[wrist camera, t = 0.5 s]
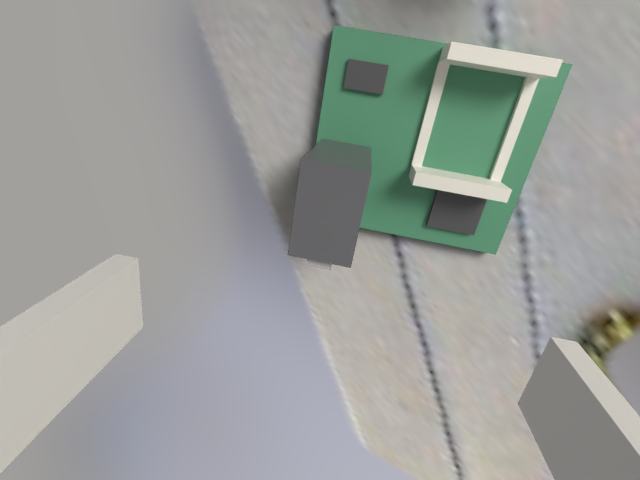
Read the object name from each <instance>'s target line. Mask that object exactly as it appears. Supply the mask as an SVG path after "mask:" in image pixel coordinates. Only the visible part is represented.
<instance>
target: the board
mask: <svg viewBox="0 0 640 480" xmlns="http://www.w3.org/2000/svg"><path fill="white" fill-rule="evenodd" d="M562 62H563V60H561V59H555V58H549V57H543V56H537V55H531V54H525V53H518V52H512V51H506V50H500V49H494V48H488V47H482V46H476V45H470V44H464V43H457V42H450V43H449V44H446V43H440V42H433V41H427V40H421V39H415V38H409V37H403V36H397V35H391V34H385V33H379V32H373V31H367V30H361V29H354V28H348V27H342V26H336V25H334V28H333V34H332V41H331V48H330V54H329V61H328V67H327V74H326V81H325V87H324V94H323V100H322V107H321V114H320V120H319V127H318V134H317V140H316V145H317V144H318V143H319V142H320V141H321V140H322V139H323V138H324V139H329V140H334V141H340V142H345V143H351V144H356V145H362V146H367V147H371V163H372V174H371V178H370V183H369V187H368V192H367V196H366V201H365V205H364V210H363V214H362V219H361V224H360V228H364V229H369V230H374V231H380V232H385V233H390V234H395V235H400V236H405V237H410V238H415V239H420V240H425V241H430V242H435V243H440V244H445V245H450V246H456V247H461V248H466V249H471V250H476V251H481V252H486V253H491V254H496V252H497V250H498V247H499V245H500V242H501V240H502V237H503V235H504V232H505V230H506V228H507V225H508V223H509V220H510V218H511V215H512V213H513V210H514V208H515V205H516V203H517V200H518V198H519V195H520V193H521V190H522V188H523V185H524V183H525V180H526V178H527V175H528V173H529V171H530V168H531V166H532V163H533V161H534V158H535V156H536V153H537V151H538V148H539V146H540V143H541V141H542V138H543V136H544V133H545V131H546V128H547V126H548V123H549V121H550V118H551V116H552V114H553V111H554V109H555V106H556V104H557V101H558V99H559V96H560V94H561V91H562V89H563V86H564V84H565V81H566V79H567V76H568V74H569V71H570V69H571V66H572V64H567V63H562Z"/></svg>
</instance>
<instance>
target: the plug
mask: <svg viewBox="0 0 640 480" xmlns="http://www.w3.org/2000/svg"><path fill="white" fill-rule="evenodd" d="M371 174H372V163H371V147H367V146H362V145H356V144H351V143H345V142H340V141H334V140H329V139H324V138H323V139H322V140H321V141H320V142H319V143H318V144H317V145H316V146H314V147H313V148H312V149H311V150H310V151H309V152H308V153H307V154H306V155H305V156H304V157H303V158H302V159H301V162H300V169H299V177H298V184H297V191H296V199H295V206H294V213H293V221H292V228H291V235H290V243H289V250H288V255H290V256H295V257H300V258H305V259H307V264H306V265H309V266H314V267H318V268H323V269H328V270H331V266H332V264H334V265H339V266H344V267H349V268H351V264H352V260H353V255H354V251H355V246H356V242H357V237H358V233H359V228H360V224H361V219H362V214H363V210H364V205H365V201H366V196H367V192H368V187H369V183H370V178H371Z"/></svg>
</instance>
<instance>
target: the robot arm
mask: <svg viewBox="0 0 640 480" xmlns="http://www.w3.org/2000/svg"><path fill="white" fill-rule="evenodd" d="M142 328H143V319H142V305H141V292H140V279H139V266H138V258H134V257H129V256H123V255H118V254H115V255H114V256H112V257H111V258H109V259H107V260H106V261H104V262H102V263H101V264H99V265H98V266H96V267H94V268H93V269H91V270H90V271H88V272H86V273H85V274H83V275H82V276H80V277H79V278H77V279H75V280H74V281H72V282H70V283H69V284H67V285H66V286H64V287H63V288H61V289H59V290H58V291H56V292H55V293H53V294H51V295H50V296H48V297H47V298H45V299H44V300H42V301H40V302H39V303H37V304H36V305H34V306H32V307H31V308H29V309H28V310H26V311H24V312H23V313H21V314H19V315H18V316H16V317H15V318H13V319H12V320H10V321H8V322H7V323H5V324H4V325H2V326H0V473H1V472H2V471H3V470H4V469H5V468H6V467H7V466H8V465H9V464H10V463H11V462H12V461H13V459H15V458H16V457H17V456H18V455H19V454H20V453H21V451H22V450H23V449H24V448H25V447H26V446H27V445H28V444H29V443H30V442H31V441H32V440H33V439H34V438H35V437H36V436H37V435H38V434H39V433H40V432H41V431H42V430H43V429H44V428H45V427H46V426H47V425H48V424H49V423H50V422H51V421H52V420H53V419H54V418H55V417H56V416H57V415H58V413H60V412H61V411H62V409H63V408H64V407H65V406H66V405H67V404H68V403H69V402H70V401H71V400H72V399H73V398H74V397H75V396H76V395H77V394H78V393H79V392H80V391H81V390H82V389H83V388H84V387H85V386H86V385H87V384H88V383H89V382H90V381H91V380H92V379H93V378H94V377H95V376H96V375H97V374H98V373H99V372H100V370H102V368H104V367H105V365H106V364H107V363H108V362H109V361H110V360H111V359H112V358H113V357H114V356H115V355H116V354H117V353H118V352H119V351H120V350H121V349H122V348H123V347H124V346H125V345H126V344H127V343H128V342H129V341H130V340H131V339H132V338H133V337H134V336H135V335H136V334H137V333H138V332H139V331H140V330H141V329H142ZM518 405H519V407H520V409H521V411H522V413H523V415H524V417H525V419H526V421H527V423H528V425H529V427H530V430H531V432H532V434H533V436H534V438H535V440H536V442H537V444H538V446H539V448H540V450H541V452H542V454H543V457H544V459H545V461H546V463H547V465H548V467H549V469H550V471H551V473H552V475H553V477H554V479H555V480H640V416H639V415H638V414H637V413H636V412H635V410H634V409H633V408H632V407H631V406H630V404H629V403H628V402H627V401H626V400H625V399H624V397H623V396H622V395H621V394H620V393H619V391H618V390H617V389H616V388H615V387H614V385H613V384H612V383H611V382H610V381H609V380H608V378H607V377H606V376H605V375H604V374H603V372H602V371H601V370H600V369H599V368H598V366H597V365H596V364H595V363H594V362H593V360H592V359H591V358H590V357H589V356H588V355H587V353H586V352H585V351H584V350H583V349H582V347H581V346H580V345H579V344H578V343H577V342H575V341H569V340H564V339H559V338H554V337H550V339H549V341H548V343H547V346H546V348H545V350H544V352H543V354H542V356H541V358H540V360H539V362H538V364H537V366H536V368H535V370H534V372H533V374H532V376H531V378H530V380H529V382H528V384H527V386H526V388H525V390H524V392H523V394H522V396H521V398H520V400H519V402H518Z"/></svg>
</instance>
